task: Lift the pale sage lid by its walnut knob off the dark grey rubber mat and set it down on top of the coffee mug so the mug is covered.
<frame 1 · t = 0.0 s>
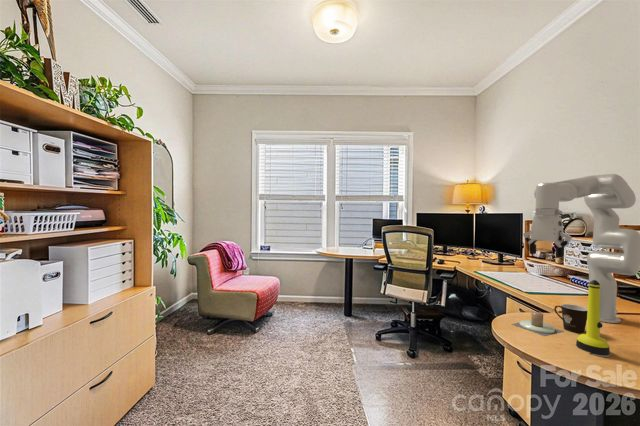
hand: (545, 255, 121), 31 cm above the table, tool pointing down, fingers open, 9 cm apart
lid: (536, 327, 124), point 1 cm above the table, touching mat
flashlight: (592, 351, 105), on the table
coffee mug: (571, 330, 124), on the table
mat: (536, 329, 124), on the table
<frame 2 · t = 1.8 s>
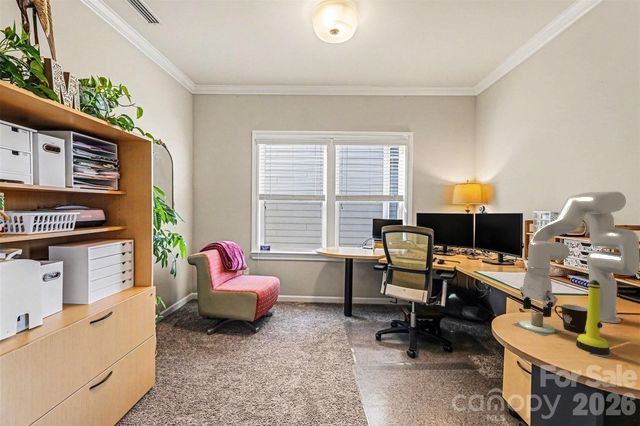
hand: (536, 312, 124), 7 cm above the table, tool pointing down, fingers open, 9 cm apart
nothing on the table moved.
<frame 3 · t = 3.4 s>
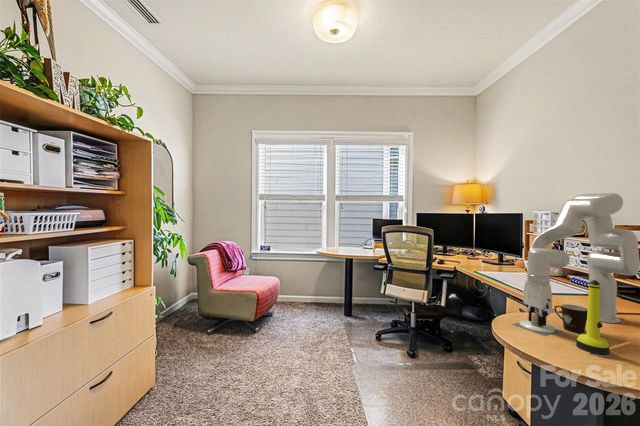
hand: (537, 322, 124), 3 cm above the table, tool pointing down, fingers closed on lid, 4 cm apart
lid: (536, 327, 124), point 1 cm above the table, touching gripper, mat
everything else where it was.
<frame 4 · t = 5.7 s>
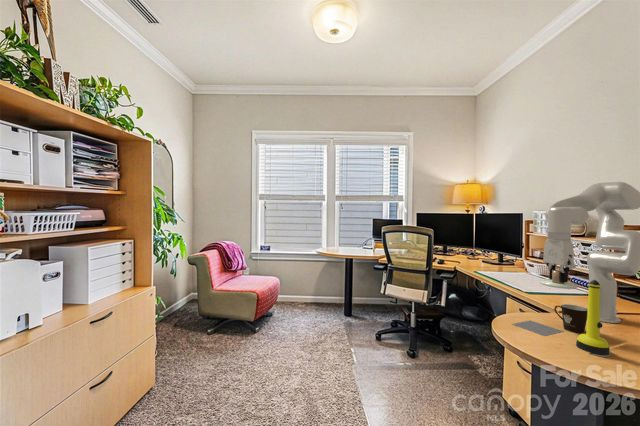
hand: (558, 280, 124), 21 cm above the table, tool pointing down, fingers closed on lid, 4 cm apart
lid: (558, 285, 124), point 19 cm above the table, touching gripper
everything else where it was.
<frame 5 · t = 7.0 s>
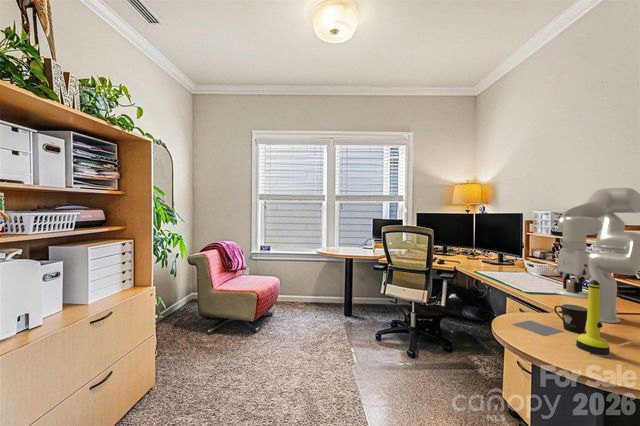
hand: (572, 289, 124), 17 cm above the table, tool pointing down, fingers closed on lid, 4 cm apart
lid: (572, 294, 124), point 15 cm above the table, touching gripper
everything else where it was.
when the fingers open (13 cm above the table, at t = 8.3 s): lid drops 1 cm, resting on coffee mug.
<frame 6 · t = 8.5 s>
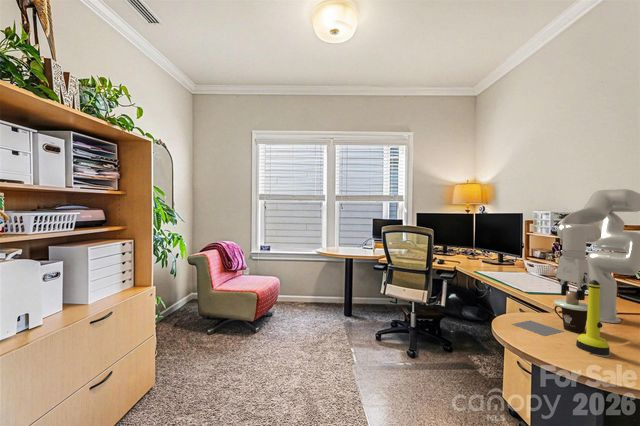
hand: (572, 297, 124), 14 cm above the table, tool pointing down, fingers open, 6 cm apart
lid: (572, 306, 124), point 10 cm above the table, touching coffee mug
coffee mug: (571, 330, 124), on the table, touching lid
everything else where it was.
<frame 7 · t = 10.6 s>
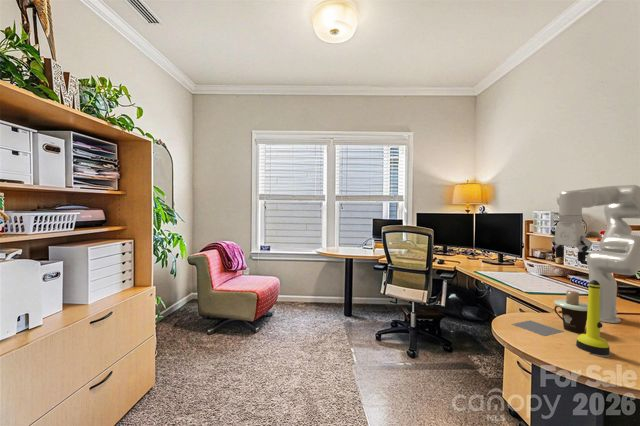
hand: (570, 259, 129), 29 cm above the table, tool pointing down, fingers open, 9 cm apart
nothing on the table moved.
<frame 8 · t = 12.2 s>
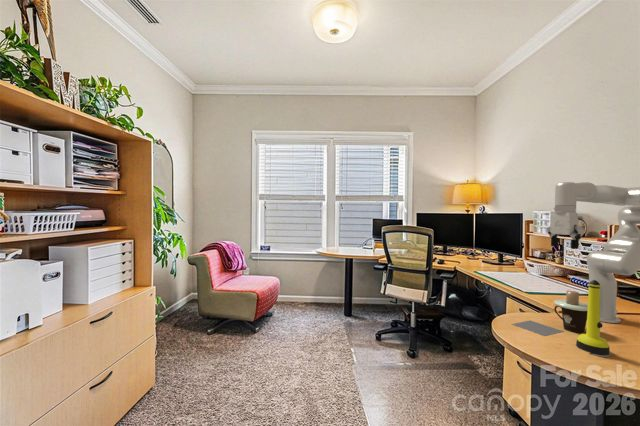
hand: (564, 247, 135), 33 cm above the table, tool pointing down, fingers open, 9 cm apart
nothing on the table moved.
at the end: lid 0.0 cm from the coffee mug (horizontally); lid point 10.0 cm above the table; lid tilted 0° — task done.
